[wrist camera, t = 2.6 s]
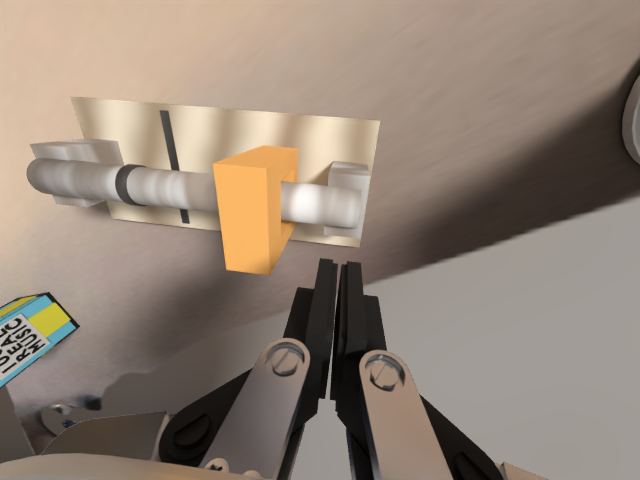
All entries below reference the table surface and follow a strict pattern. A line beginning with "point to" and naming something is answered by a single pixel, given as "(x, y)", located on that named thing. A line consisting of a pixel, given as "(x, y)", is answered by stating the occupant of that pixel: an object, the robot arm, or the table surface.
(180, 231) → the table surface
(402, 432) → the robot arm
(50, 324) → the carton
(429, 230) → the table surface
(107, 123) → the pipe rig
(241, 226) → the collar
